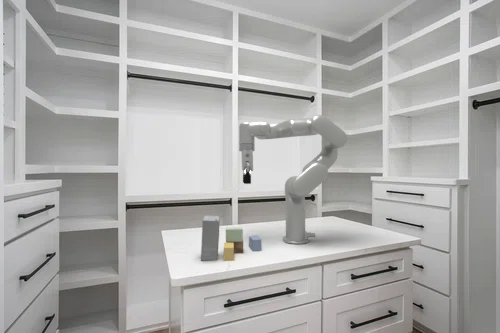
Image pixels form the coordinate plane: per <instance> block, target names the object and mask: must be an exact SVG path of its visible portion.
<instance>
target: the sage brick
mask: <svg viewBox="0 0 500 333" xmlns="http://www.w3.org/2000/svg"><path fill="white" fill-rule="evenodd" d="M243 234H244V230H243V227H241V226H240V227H237V226H236V227H233V226H232V227H225V243H226V242H239V241H243V242H244V236H243Z"/></svg>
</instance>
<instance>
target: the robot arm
mask: <svg viewBox="0 0 500 333" xmlns="http://www.w3.org/2000/svg"><path fill="white" fill-rule="evenodd" d="M238 126H239V127H238V134H239V135H238V140H239V141H238V144H239V145H238V151H239V152H241V170H242V174H243V175H242V183H243V184H244V185H251V184H252V174H251V173H252V172H253V171H254V154H253V152H255V148H256V147H255V144H256V143H255V141H256V140H255V138H257V139H258V140H272V139H273V140H274V139H281V138H282V139H283V138H285V139H286V138H295V137H305V136H307V137H308V136H310V137H311V136H316V135H320V136H321V137H322V140H321V151H320V152H319V153H318V154H317V155H316V157H314V158H313V159H312V160H311V161H309V162H308V163H306V164H305V165H304V167H303V168H302V170H301V173H299V174H298V176H297V175H293V176H290V177H289V178H288V179H287V180H286V181H285V183H284V194H285V196H284V197H285V235H284V236H283V237H282V241H283V242H284V243H287V244H291V245H303V244H304V245H305V244H307V243H309V241H310V240H309V238H316V233H315V232H307V230H306V198H305V197H306V196H309V195H310V194H311V193H312V192H313V191H314V190H316V188H317V187H319V186H320V185H321V184H323V183H324V181H325V180H327V178H328V174H329V170H330V169H331V167H332V166H333V165H334V164H335V163H336V161H337V159H338V154H339V150H338V149H341V148H342V147H344V146H346V144H347V141H348V136H347V135H348V134H346V132H345V131H344V130H343V129H342V128H341V127H339V126H338V125H336V124H335V123H334V122H333V121H331V120H330V119H329V118H327V117H326V116H324V115H322V114H316V115H314V116H313V117H310V118H297V119H295V118H293V119H288V120H284V121H282V122H279V123H274V124H270V123H269V122H267V121H258V122H257V121H256V122H255V121H254V122H251V121H244V122H240V123H239V125H238Z"/></svg>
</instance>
